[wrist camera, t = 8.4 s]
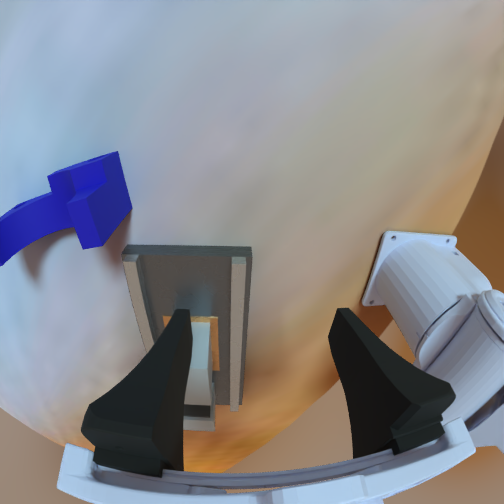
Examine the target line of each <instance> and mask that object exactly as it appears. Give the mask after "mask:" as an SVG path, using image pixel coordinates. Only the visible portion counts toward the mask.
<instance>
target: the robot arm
mask: <svg viewBox="0 0 504 504" xmlns="http://www.w3.org/2000/svg"><path fill="white" fill-rule="evenodd" d="M392 236H394V238H392ZM391 238H392V239H391ZM446 240H447V241H446ZM456 242H457V238H456V237H455V236H451V235H439V234H426V233H413V232H398V231H386V232H385V233H384V234H383V236H382V240H381V243H380V247H379V250H378V254H377V257H376V260H375V263H374V266H373V270H372V273H371V276H370V279H369V282H368V285H367V287H366V290H365V293H364V296H363V299H362V304H363V305H364V306H376V305H386V307H387V309H388V310H389V312H390V314H391V315H392V317H393V319H394V320H395V322H396V324H397V325H398V327H399V329H400V331H401V332H402V334H403V336H404V337H405V339H406V341H407V343H408V345H409V347H410V349H411V350H412V352H413V354H414V356H415V358H416V360H415V361H414V363H413V364H411V363H409V362H408V361H406V360H405V359H403V358H402V357H401V356H399V355H398V354H396V353H395V352H394V351H393V350H392V349H390V348H389V347H388V346H387V345H386V344H385V343H383V342H382V341H381V340H380V339H379V338H378V337H377V336H376V335H375V334H374V333H373V332H372V331H371V330H370V329H369V328H368V327H367V326H366V325H365V324H364V323H363V322H362V321H361V320H360V319H359V318H358V317H357V316H356V315H355V314H354V313H353V312H352V311H351V310H350V309H349V308H337V311H336V314H335V317H334V320H333V323H332V326H331V329H330V332H329V335H328V339H329V344H330V349H331V354H332V357H333V360H334V362H335V365H336V368H337V371H338V374H339V377H340V380H341V383H342V386H343V389H344V392H345V396H346V401H347V406H348V412H349V418H350V424H351V433H352V443H353V459H352V460H347V461H343V462H338V463H333V464H328V465H322V466H316V467H310V468H303V469H296V470H286V471H277V472H262V473H232V474H231V473H230V474H229V473H198V472H185V471H184V464H183V421H184V401H185V393H186V387H187V381H188V376H189V370H190V364H191V358H192V346H193V334H192V326H191V317H190V309H176V310H175V311H174V313H173V315H172V317H171V319H170V320H169V322H168V324H167V325H166V327H165V329H164V330H163V332H162V333H161V335H160V336H159V338H158V339H157V341H156V342H155V344H154V345H153V346H152V348H151V349H150V350H149V352H148V353H147V354H146V355H145V357H144V358H143V359H142V360H141V361H140V363H139V364H138V365H137V366H136V367H135V368H134V369H133V370H132V371H131V372H130V373H129V374H128V375H127V376H126V377H125V378H124V379H123V380H122V381H121V382H119V383H118V384H117V385H116V386H114V387H113V388H112V389H111V390H110V391H108V392H107V393H106V394H104V395H103V396H101V397H100V398H98V399H97V400H95V401H94V402H92V403H91V404H89V406H88V409H87V411H86V413H85V416H84V420H83V423H82V427H81V432H82V434H83V435H84V436H85V437H86V438H87V439H88V440H89V441H90V442H91V443H92V444H93V445H94V446H95V451H94V452H93V451H91V450H88V449H86V448H82V447H79V446H76V445H72V444H69V443H66V446H65V450H64V454H63V459H62V463H61V467H60V473H59V477H58V482H57V488H58V489H59V490H62V491H64V492H66V493H68V494H70V495H72V496H75V497H77V498H80V499H82V500H85V501H88V502H91V503H94V504H384V503H383V499H384V498H387V497H389V496H392V495H394V494H397V493H400V492H402V491H405V490H407V489H409V488H412V487H414V486H416V485H418V484H420V483H423V482H425V481H427V480H429V479H431V478H433V477H435V476H437V475H439V474H440V473H443V472H445V471H446V470H448V469H450V468H452V467H453V466H455V465H456V464H458V463H460V462H461V461H463V460H464V459H466V458H467V457H469V456H470V455H472V454H473V453H475V452H476V449H475V447H482V446H492V445H495V446H497V447H498V448H499V449H500V450H501V452H502V453H503V454H504V294H503V293H501V292H499V291H497V290H492V287H491V285H490V282H489V281H488V279H487V278H486V277H485V276H484V275H483V274H482V273H481V272H480V271H479V270H478V269H477V268H476V267H475V266H474V265H473V264H472V263H471V262H470V261H469V260H468V259H467V258H466V257H465V256H464V255H463V254H462V253H461V252H460V251H459V250H457V249H456V248H455V245H456ZM370 301H371V302H370ZM347 475H349V476H347ZM343 476H345V477H343ZM338 477H341V478H338ZM334 478H336V479H334ZM329 479H331V480H329ZM324 480H326V481H324ZM318 481H321V482H318ZM312 482H315V483H312ZM306 483H309V484H306ZM298 484H303V485H298ZM291 485H295V486H291ZM282 486H289V487H283V488H278V489H273V490H266V491H258V492H246V493H229V494H227V492H226V491H225V490H222V489H256V488H271V487H282Z"/></svg>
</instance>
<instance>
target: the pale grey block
mask: <svg viewBox="0 0 504 504" xmlns="http://www.w3.org/2000/svg"><path fill="white" fill-rule="evenodd" d="M191 326H192V334H193V346H192V358H191V364H190V370H189V376H188V381H187V387H186V393H185V401H184V404H190V405H211V399H212V367H213V362H212V347H211V330H210V323H205V322H191Z"/></svg>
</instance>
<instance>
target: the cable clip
mask: <svg viewBox="0 0 504 504" xmlns="http://www.w3.org/2000/svg"><path fill="white" fill-rule="evenodd" d="M47 177H48V181H49V184H50V187H51V191H52V192H50V193H47V194H44V195H41V196H39V197H36V198H33V199H31V200H28V201H25V202H23V203H20V204H18V205H16V206H15V207H14V208H12V209H11V210H9V211H8V212H7V213H5V214H4V215H3V216H1V217H0V266H3V264H4V263H5V262H6V261H8V260H9V259H10V258H11V257H12V256H13V255H15V254H16V253H17V252H18V251H20V250H21V249H23V248H24V247H26V246H27V245H29V244H30V243H32V242H34V241H36V240H37V239H39V238H41V237H43V236H46V235H48V234H50V233H53V232H56V231H59V230H62V229H66V228H71V227H74V228H75V230H76V233H77V236H78V238H79V241H80V243H81V246H82V248H83V249H89V248H94V247H100V246H103V245H104V243H105V242H106V241H107V239H108V238H109V237H110V236H111V234H112V233H113V232H114V230H115V229H116V228H117V226H118V225H119V224H120V223H121V221H122V220H123V219H124V218H125V216H126V215H127V214H128V213H129V211H130V210H131V209H132V204H131V201H130V197H129V193H128V190H127V186H126V182H125V178H124V174H123V170H122V166H121V162H120V158H119V153H118V151H116V152H112V153H109V154H106V155H102V156H99V157H96V158H93V159H90V160H87V161H84V162H81V163H78V164H75V165H72V166H69V167H67V168H64V169H61V170H59V171H56V172H54V173H52V174H51V175H49V176H47Z"/></svg>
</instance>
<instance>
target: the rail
mask: <svg viewBox="0 0 504 504" xmlns="http://www.w3.org/2000/svg"><path fill="white" fill-rule="evenodd" d="M121 256H122V261H123V266H124V270H125V275H126V279H127V284H128V288H129V292H130V296H131V300H132V304H133V308H134V312H135V315H136V319H137V323H138V326H139V329H140V333H141V336H142V340H143V343H144V346H145V349H146V352H147V353H148V352H149V350H150V349H151V348H152V346H153V345H154V344H155V342H156V341H157V339H158V338H159V336H160V335H161V333H162V332H163V330H164V329H165V327H166V325H167V324H168V322H169V320H170V319H171V317H172V315H173V313H174V311H175V310H176V309H190V317H191V322H205V323H210V330H211V347H212V362H213V367H212V383H214V384H215V405H230V411H238V407H239V405H242V397H243V383H244V369H245V355H246V341H247V327H248V312H249V298H250V284H251V270H252V250H251V247H233V246H179V245H127V246H126V247H125V249H124V251H123V252H122V254H121Z"/></svg>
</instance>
